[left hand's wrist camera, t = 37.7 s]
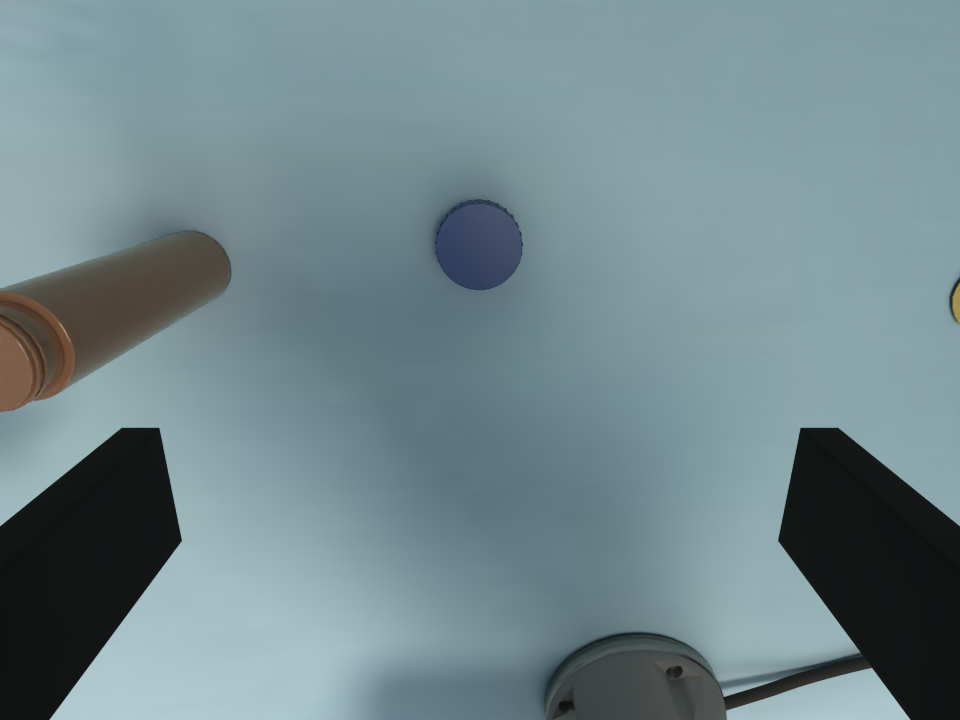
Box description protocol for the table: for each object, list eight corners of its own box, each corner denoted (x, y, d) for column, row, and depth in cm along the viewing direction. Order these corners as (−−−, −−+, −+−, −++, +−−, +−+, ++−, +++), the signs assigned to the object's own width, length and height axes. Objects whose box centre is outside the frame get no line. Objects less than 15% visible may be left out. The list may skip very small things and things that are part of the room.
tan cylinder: (239, 296, 41) (61, 414, 24) (171, 305, 42) (-55, 428, 24) (219, 225, 40) (13, 296, 22) (149, 235, 40) (-111, 313, 22)
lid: (459, 183, 39) (457, 186, 37) (536, 222, 40) (539, 227, 38) (423, 261, 41) (420, 268, 39) (498, 296, 41) (499, 305, 39)
